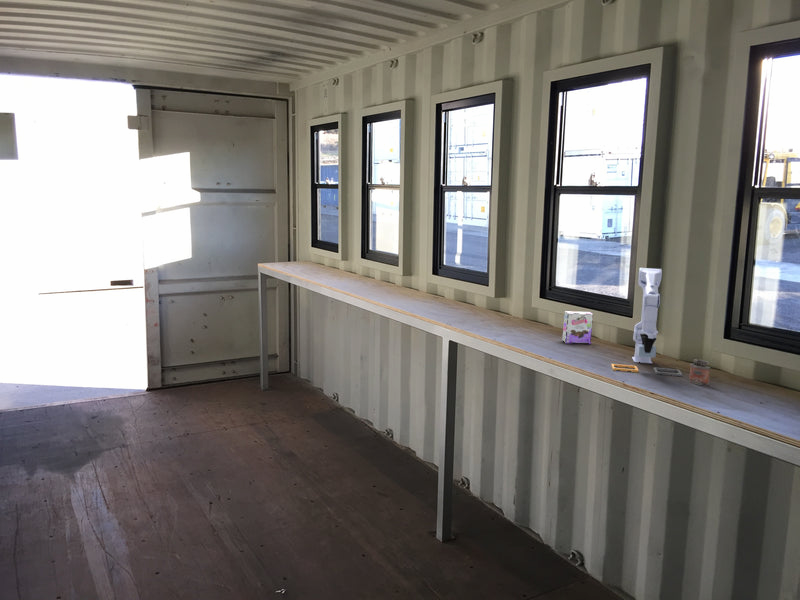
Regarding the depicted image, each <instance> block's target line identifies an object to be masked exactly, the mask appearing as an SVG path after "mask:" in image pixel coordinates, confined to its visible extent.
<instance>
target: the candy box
mask: <svg viewBox="0 0 800 600" xmlns="http://www.w3.org/2000/svg"><path fill="white" fill-rule="evenodd" d="M593 319H594V314H593V313H592V312H591V311H567V310H565V311H564V316H563V328H562V338H561V341H562V340H563V341H564V342H565V343H564V342H563V341H562V342H563V343H564V344H573V343H589V344H588V345H591V344H592V330H593Z"/></svg>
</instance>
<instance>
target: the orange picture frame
mask: <svg viewBox="0 0 800 600" xmlns="http://www.w3.org/2000/svg"><path fill="white" fill-rule="evenodd" d="M610 366H611V368H612V370H613V371H616V370H620V372H627V371H631V372H630V373H639V369H638V367H637V366H636V365H631V364H630V365H628V364H618V363H611V365H610ZM614 366H617V367H614ZM625 367H628V368H625ZM634 368H635V369H634Z"/></svg>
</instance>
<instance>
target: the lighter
mask: <svg viewBox="0 0 800 600" xmlns="http://www.w3.org/2000/svg"><path fill="white" fill-rule="evenodd" d="M707 365H708V366H707ZM709 365H710V361H706V360H703V359H701V358H700V359H695V358H694V359H693V363H690V364H689V367H690V370H689V377H688V382H689V383H691V384H696V385H700V386H705V385H708V386H709V383H710V382H709V380H710V379H709V378H710V372H711V371H710V370H711V367H710V366H709Z"/></svg>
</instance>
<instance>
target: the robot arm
mask: <svg viewBox="0 0 800 600" xmlns="http://www.w3.org/2000/svg"><path fill="white" fill-rule="evenodd" d="M662 276H663V270H662V268H651V267H649V268H647V267H639V271H638V280H637V281H638V286H639V287H641V288H642V292H643V294H642V304H641V305H642V307H641V316H640V317H641V318H640V319H641V320H640V322H637V323H636V324H635V325H634V327H633V329H634V330H633V336H632V338H633V339H632V340H633V341H634V342H635V347H634V356H632V360H633V362H634V363H639V362H640V364H641V363H642V364H651V365H652V364H653V361H652V357H640V356H638V355H637V348H638V344H641V345H644V350H645V353H650V352H651V349H652V346H653V344H655V343H656V341H657V334H659V331H658V330H657V319H658V311H659V310H658V309H659V307H660V304H661V295H660V293H659V288H660V285H661V281H662V278H663V277H662Z"/></svg>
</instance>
